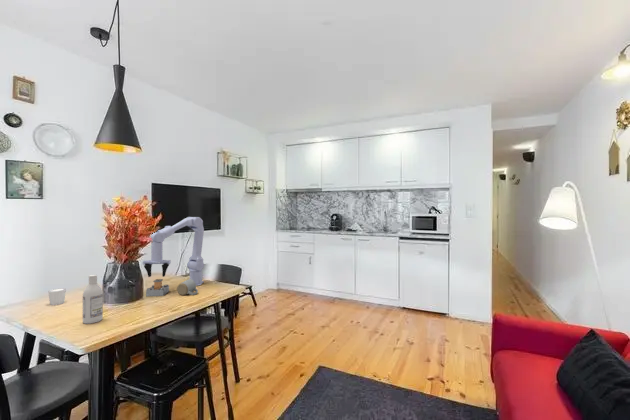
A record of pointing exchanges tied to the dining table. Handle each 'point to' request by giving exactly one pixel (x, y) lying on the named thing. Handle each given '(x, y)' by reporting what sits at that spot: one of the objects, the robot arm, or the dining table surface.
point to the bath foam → (92, 301)
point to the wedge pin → (158, 283)
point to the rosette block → (157, 291)
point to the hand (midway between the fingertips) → (156, 276)
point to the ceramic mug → (187, 287)
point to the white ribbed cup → (57, 296)
